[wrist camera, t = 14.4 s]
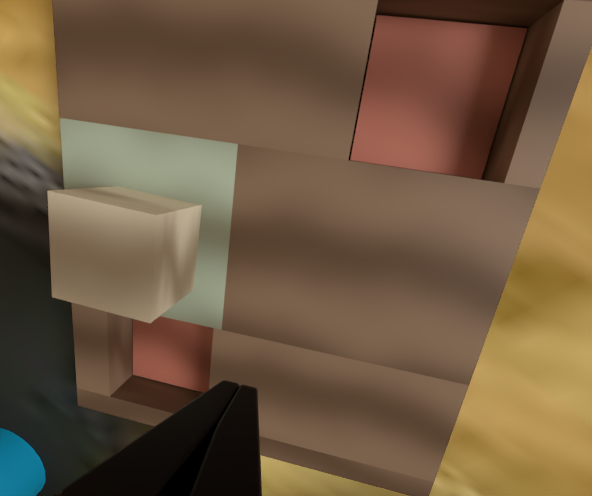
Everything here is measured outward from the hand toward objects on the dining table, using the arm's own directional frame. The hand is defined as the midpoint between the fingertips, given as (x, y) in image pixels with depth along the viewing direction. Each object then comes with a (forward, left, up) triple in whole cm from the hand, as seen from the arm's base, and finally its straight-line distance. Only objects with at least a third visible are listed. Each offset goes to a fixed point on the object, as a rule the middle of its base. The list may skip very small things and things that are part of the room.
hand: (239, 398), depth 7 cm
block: (0, +8, -9) cm, 13 cm away
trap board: (0, +2, -12) cm, 12 cm away
